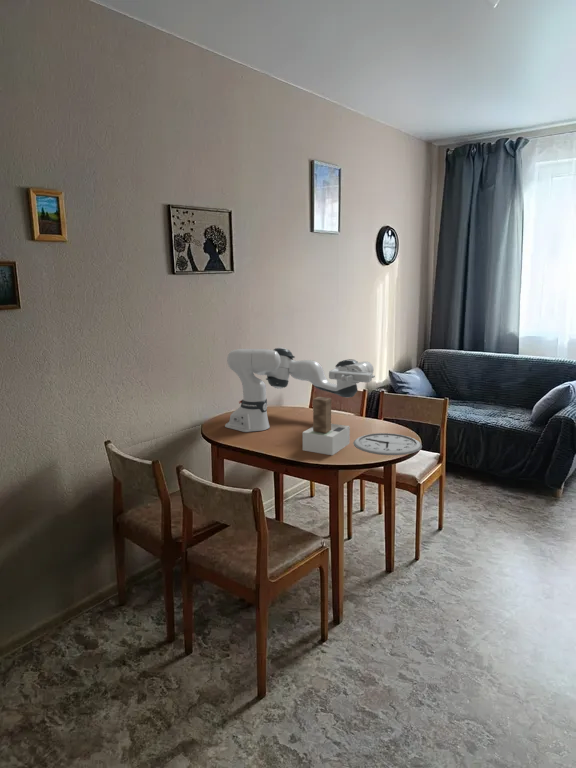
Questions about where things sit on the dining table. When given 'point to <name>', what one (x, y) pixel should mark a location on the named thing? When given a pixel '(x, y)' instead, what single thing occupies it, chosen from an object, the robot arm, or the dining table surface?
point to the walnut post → (322, 414)
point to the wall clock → (387, 444)
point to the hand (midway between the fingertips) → (343, 378)
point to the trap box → (326, 440)
